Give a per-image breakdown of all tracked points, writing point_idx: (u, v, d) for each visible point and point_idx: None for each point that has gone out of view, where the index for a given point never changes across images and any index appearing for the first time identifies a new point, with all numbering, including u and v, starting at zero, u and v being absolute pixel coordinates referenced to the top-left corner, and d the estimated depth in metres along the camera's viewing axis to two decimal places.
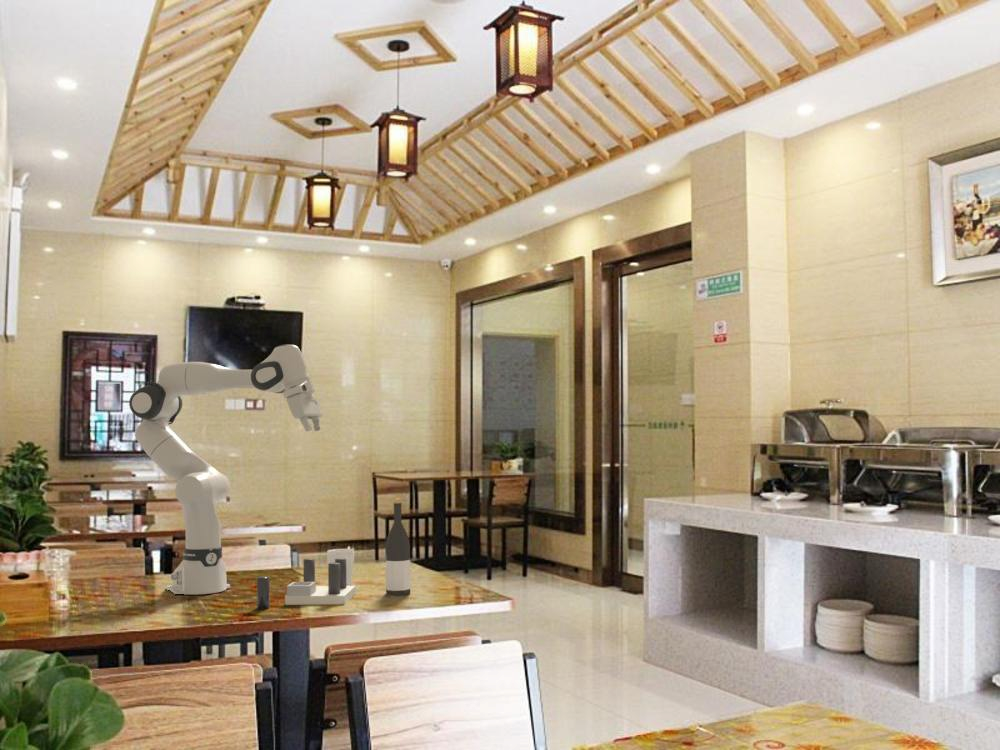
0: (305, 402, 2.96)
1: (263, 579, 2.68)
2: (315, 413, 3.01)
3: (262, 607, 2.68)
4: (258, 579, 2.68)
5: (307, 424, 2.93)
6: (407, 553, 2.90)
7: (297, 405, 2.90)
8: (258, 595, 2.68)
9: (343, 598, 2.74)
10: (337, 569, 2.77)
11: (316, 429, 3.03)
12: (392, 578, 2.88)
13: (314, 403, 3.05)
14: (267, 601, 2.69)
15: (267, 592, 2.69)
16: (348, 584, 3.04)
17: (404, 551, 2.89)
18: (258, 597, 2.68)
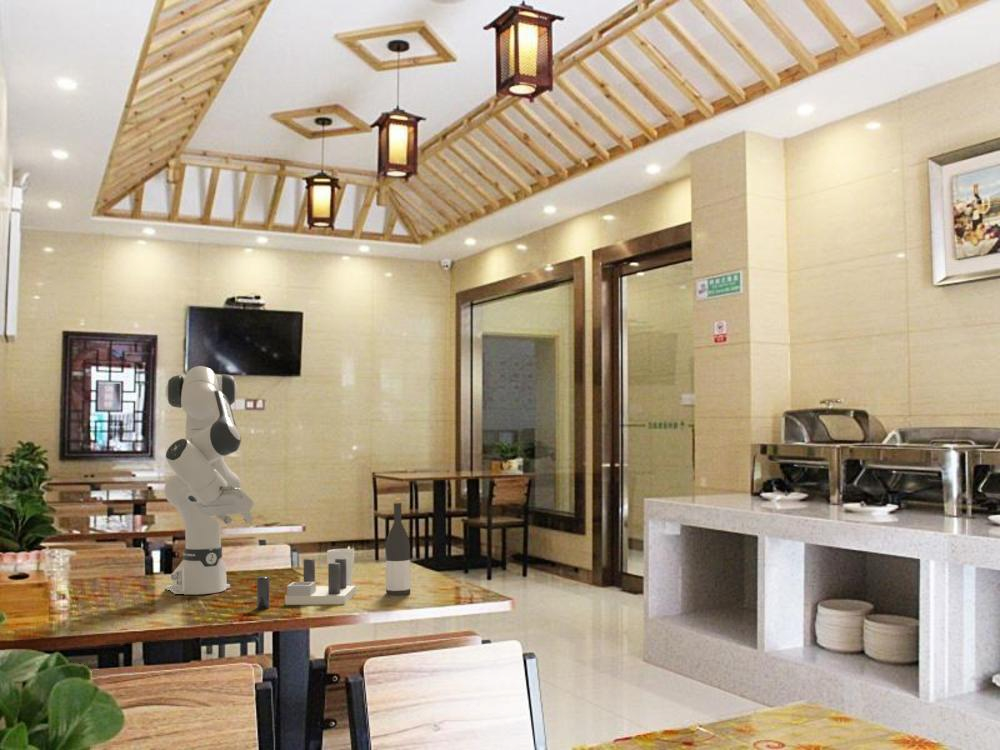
0: (210, 504, 2.61)
1: (263, 579, 2.68)
2: (229, 513, 2.59)
3: (262, 607, 2.68)
4: (258, 579, 2.68)
5: None
6: (407, 553, 2.90)
7: None
8: (258, 595, 2.68)
9: (343, 598, 2.74)
10: (337, 569, 2.77)
11: None
12: (392, 578, 2.88)
13: (230, 502, 2.56)
14: (267, 601, 2.69)
15: (267, 592, 2.69)
16: (348, 584, 3.04)
17: (404, 551, 2.89)
18: (258, 597, 2.68)
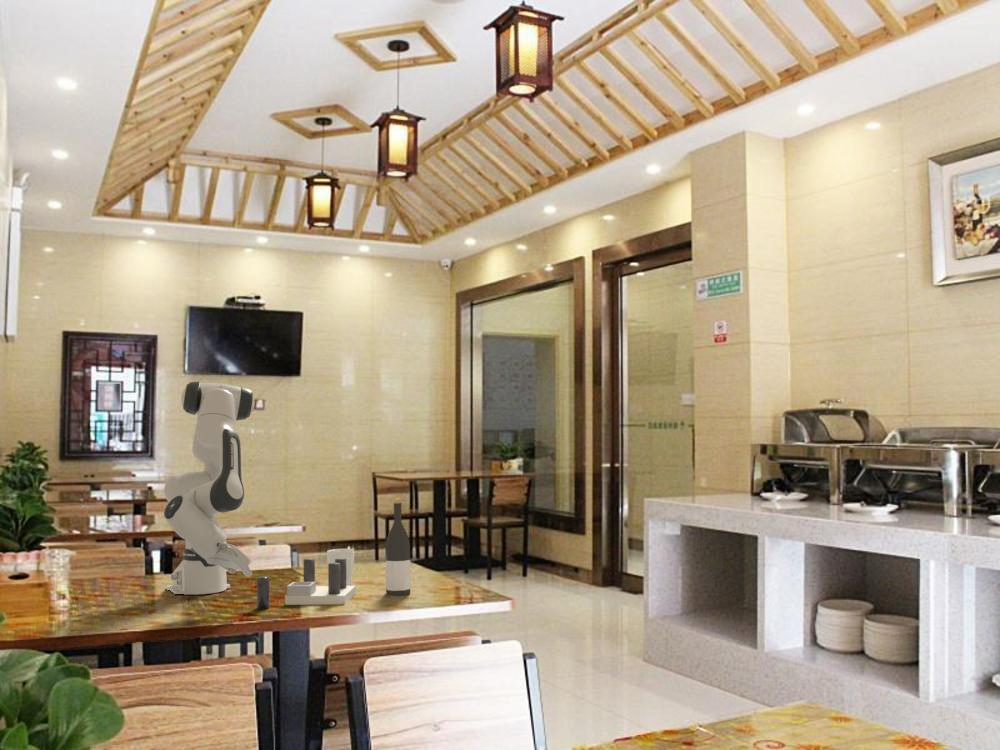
0: None
1: (263, 579, 2.68)
2: (229, 567, 2.60)
3: (262, 607, 2.68)
4: (258, 579, 2.68)
5: None
6: (407, 553, 2.90)
7: None
8: (258, 595, 2.68)
9: (343, 598, 2.74)
10: (337, 569, 2.77)
11: None
12: (392, 578, 2.88)
13: (227, 559, 2.56)
14: (267, 601, 2.69)
15: (267, 592, 2.69)
16: (348, 584, 3.04)
17: (404, 551, 2.89)
18: (258, 597, 2.68)
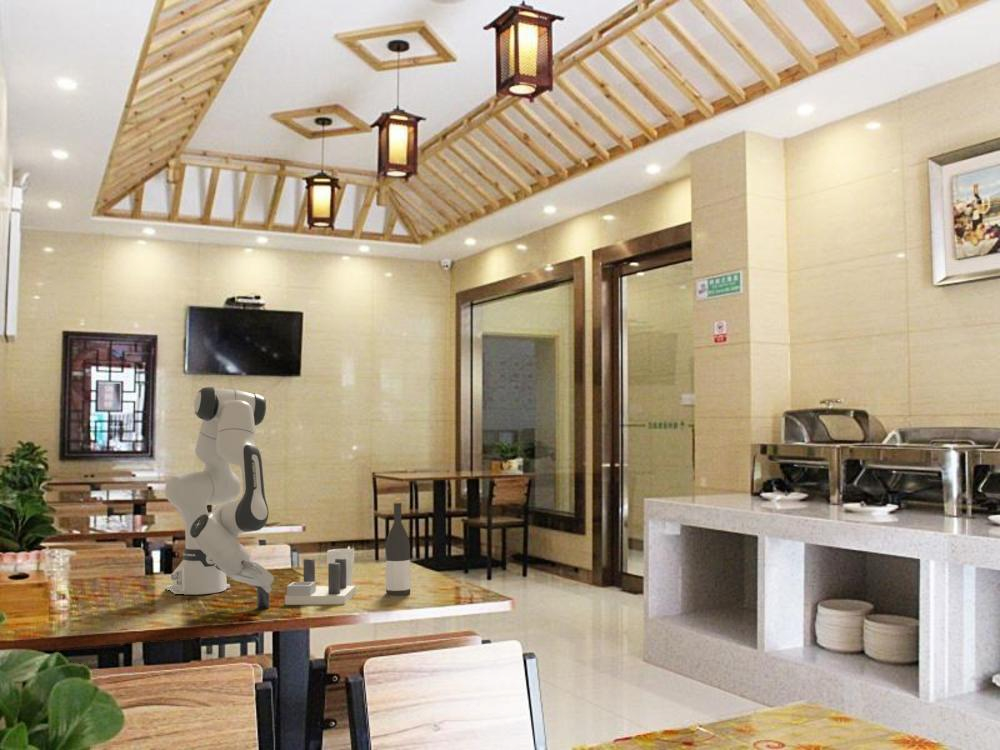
0: None
1: None
2: (253, 584, 2.65)
3: (262, 607, 2.68)
4: None
5: None
6: (407, 553, 2.90)
7: None
8: (258, 595, 2.68)
9: (343, 598, 2.74)
10: (337, 569, 2.77)
11: None
12: (392, 578, 2.88)
13: (251, 576, 2.61)
14: (267, 601, 2.69)
15: None
16: (348, 584, 3.04)
17: (404, 551, 2.89)
18: (258, 597, 2.68)
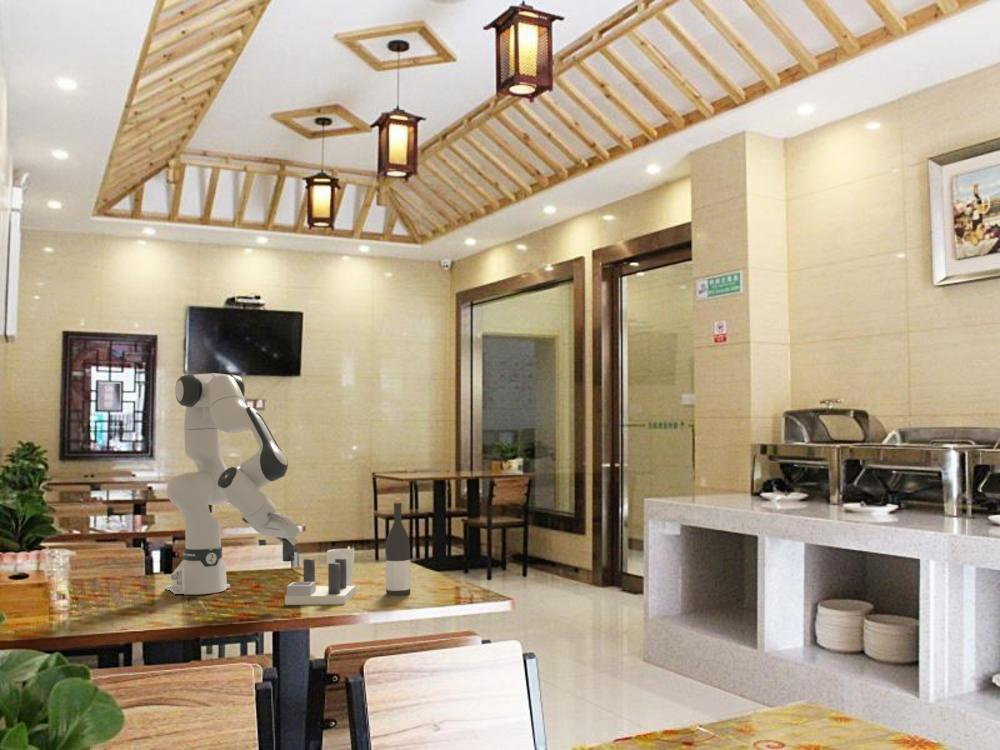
0: None
1: None
2: (278, 536, 2.72)
3: (287, 559, 2.74)
4: None
5: None
6: (407, 553, 2.90)
7: None
8: (284, 547, 2.75)
9: (343, 598, 2.74)
10: (337, 569, 2.77)
11: None
12: (392, 578, 2.88)
13: (277, 528, 2.68)
14: (292, 553, 2.75)
15: (292, 545, 2.75)
16: (348, 584, 3.04)
17: (404, 551, 2.89)
18: (284, 549, 2.75)
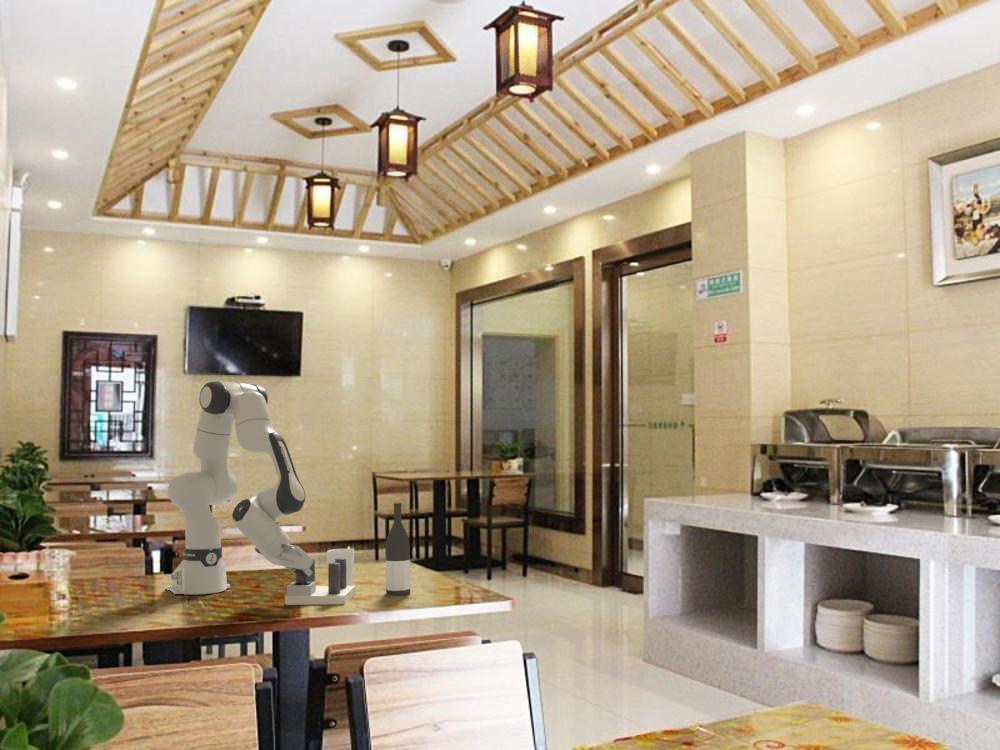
0: None
1: None
2: (292, 567, 2.74)
3: None
4: None
5: None
6: (407, 553, 2.90)
7: None
8: (296, 581, 2.77)
9: (343, 598, 2.74)
10: (337, 569, 2.77)
11: None
12: (392, 578, 2.88)
13: (291, 559, 2.70)
14: None
15: (305, 578, 2.78)
16: (348, 584, 3.04)
17: (404, 551, 2.89)
18: (296, 583, 2.77)
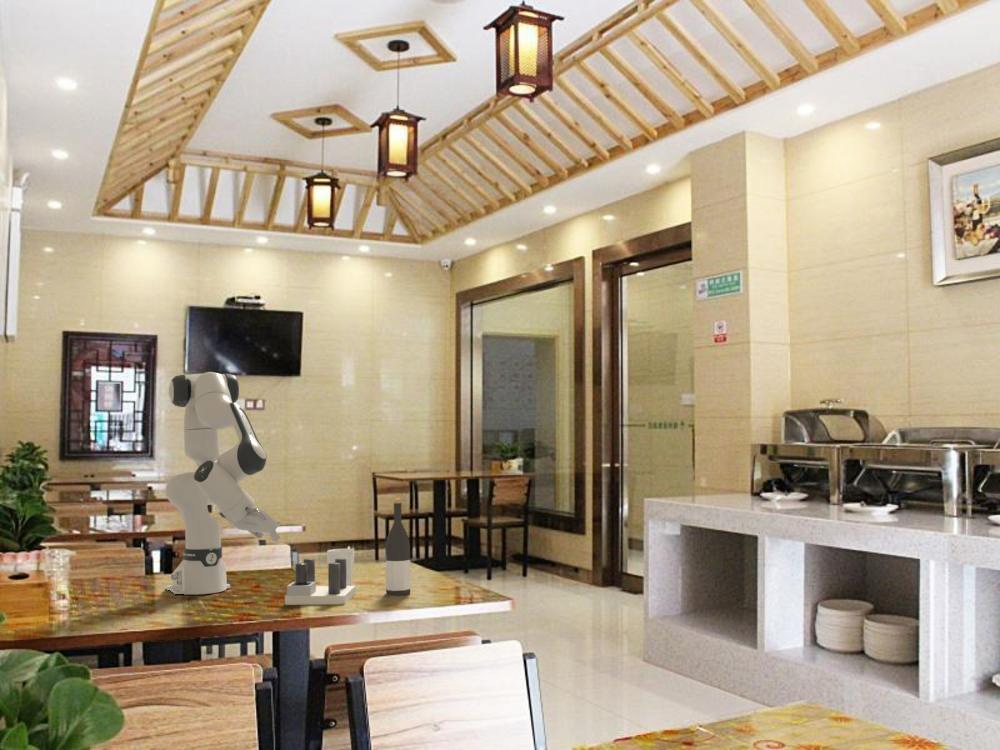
0: None
1: (301, 565, 2.77)
2: (257, 531, 2.67)
3: None
4: (296, 565, 2.78)
5: None
6: (407, 553, 2.90)
7: None
8: (296, 581, 2.77)
9: (343, 598, 2.74)
10: (337, 569, 2.77)
11: None
12: (392, 578, 2.88)
13: (255, 523, 2.63)
14: None
15: (305, 578, 2.78)
16: (348, 584, 3.04)
17: (404, 551, 2.89)
18: (296, 583, 2.77)
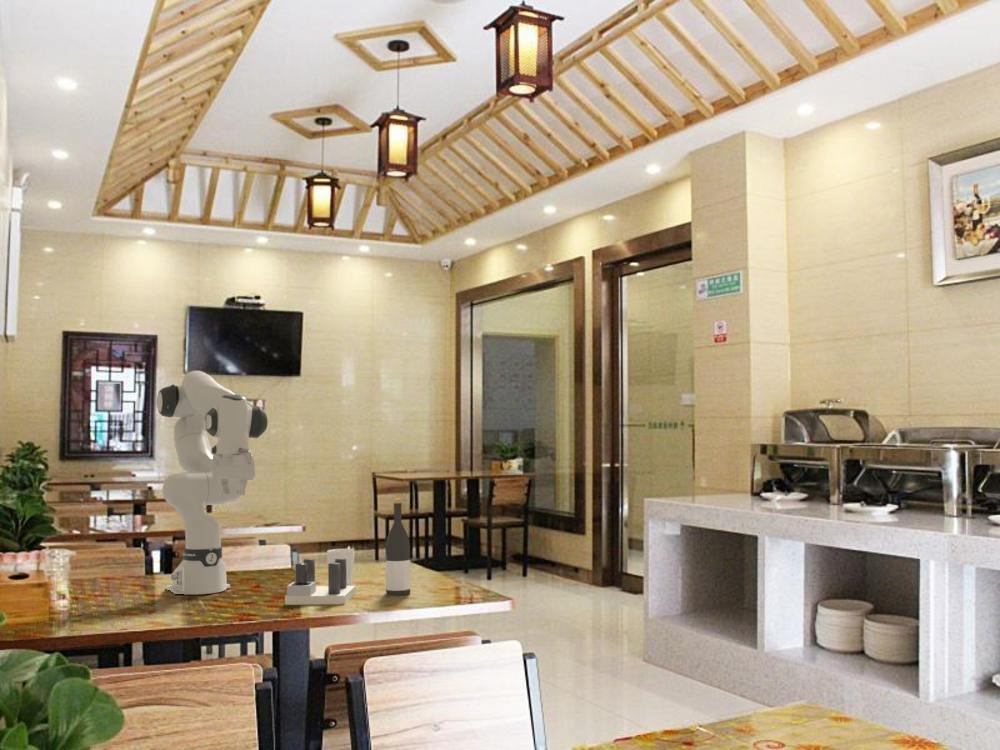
0: (223, 464, 2.76)
1: (301, 565, 2.77)
2: (231, 477, 2.72)
3: None
4: (296, 565, 2.78)
5: None
6: (407, 553, 2.90)
7: None
8: (296, 581, 2.77)
9: (343, 598, 2.74)
10: (337, 569, 2.77)
11: None
12: (392, 578, 2.88)
13: (237, 464, 2.70)
14: None
15: (305, 578, 2.78)
16: (348, 584, 3.04)
17: (404, 551, 2.89)
18: (296, 583, 2.77)
